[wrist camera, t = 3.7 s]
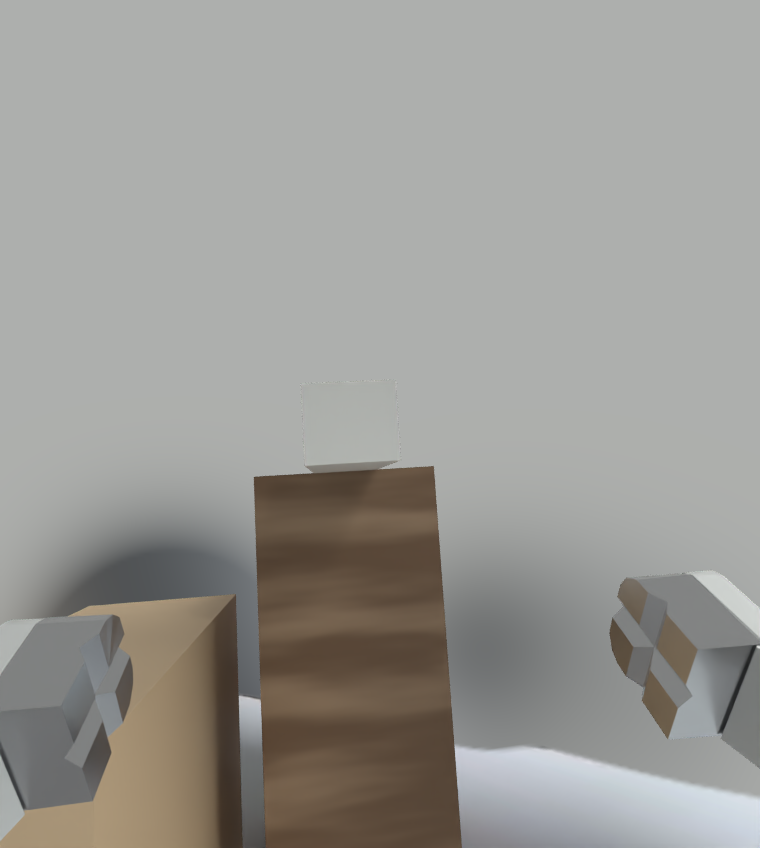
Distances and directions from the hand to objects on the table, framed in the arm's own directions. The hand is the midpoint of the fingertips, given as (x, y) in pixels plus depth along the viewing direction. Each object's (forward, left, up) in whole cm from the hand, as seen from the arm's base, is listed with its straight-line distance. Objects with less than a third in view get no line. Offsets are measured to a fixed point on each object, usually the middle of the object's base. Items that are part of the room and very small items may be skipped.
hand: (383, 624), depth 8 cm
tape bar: (0, -24, +3) cm, 24 cm away
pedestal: (0, -28, -23) cm, 36 cm away
